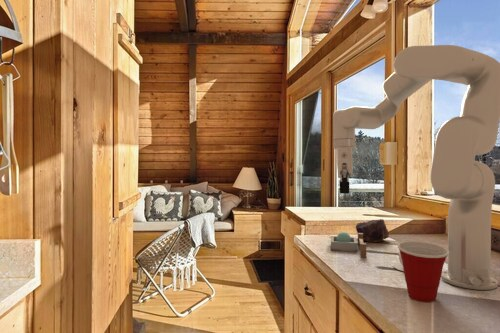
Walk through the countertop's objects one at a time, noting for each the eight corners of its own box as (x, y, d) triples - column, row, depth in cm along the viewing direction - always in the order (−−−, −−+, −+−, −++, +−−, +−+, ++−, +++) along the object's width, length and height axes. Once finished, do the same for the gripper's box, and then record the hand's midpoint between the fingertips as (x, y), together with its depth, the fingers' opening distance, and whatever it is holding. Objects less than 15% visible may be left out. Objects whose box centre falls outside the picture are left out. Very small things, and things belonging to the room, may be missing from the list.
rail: (366, 257, 115) (366, 244, 115) (360, 257, 116) (360, 244, 115) (362, 245, 132) (362, 233, 132) (357, 244, 133) (357, 233, 132)
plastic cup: (412, 308, 77) (413, 253, 76) (388, 290, 87) (389, 241, 87) (460, 306, 77) (460, 251, 77) (431, 288, 88) (431, 240, 88)
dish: (357, 251, 123) (357, 243, 123) (330, 250, 125) (330, 241, 125) (356, 245, 131) (356, 237, 131) (331, 244, 134) (331, 236, 134)
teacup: (436, 275, 98) (436, 259, 98) (398, 274, 100) (398, 257, 100) (424, 264, 108) (424, 249, 108) (390, 263, 110) (390, 248, 109)
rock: (358, 240, 144) (357, 246, 135) (355, 219, 145) (354, 223, 135) (389, 238, 140) (390, 243, 131) (385, 216, 141) (386, 220, 131)
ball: (351, 248, 125) (351, 233, 125) (336, 247, 126) (336, 233, 126) (350, 245, 130) (350, 231, 130) (336, 244, 131) (336, 230, 131)
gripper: (356, 143, 118) (356, 194, 118) (353, 145, 135) (354, 190, 135) (333, 143, 120) (333, 194, 120) (333, 145, 137) (333, 190, 137)
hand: (344, 192), depth 128 cm, fingers open, 9 cm apart
